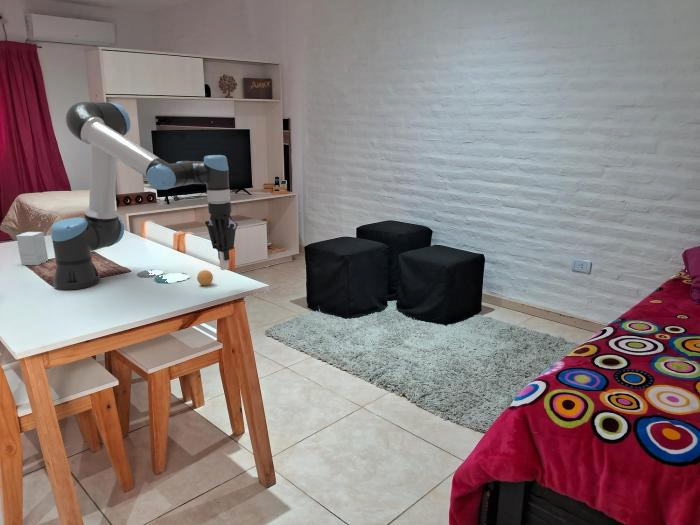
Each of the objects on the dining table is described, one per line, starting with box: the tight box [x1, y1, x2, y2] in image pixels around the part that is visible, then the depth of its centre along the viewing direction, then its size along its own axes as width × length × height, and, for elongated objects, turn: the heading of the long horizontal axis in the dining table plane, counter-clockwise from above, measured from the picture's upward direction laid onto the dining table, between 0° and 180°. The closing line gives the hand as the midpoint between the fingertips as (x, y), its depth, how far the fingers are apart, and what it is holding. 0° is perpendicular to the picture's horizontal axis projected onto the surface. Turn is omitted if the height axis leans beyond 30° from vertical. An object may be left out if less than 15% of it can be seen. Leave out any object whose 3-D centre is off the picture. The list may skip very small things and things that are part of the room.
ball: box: [196, 269, 214, 286], centre depth 193 cm, size 6×6×6 cm
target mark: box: [153, 276, 169, 284], centre depth 202 cm, size 13×13×1 cm
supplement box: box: [15, 231, 49, 266], centre depth 222 cm, size 7×7×13 cm
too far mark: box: [136, 269, 157, 278], centre depth 208 cm, size 10×10×1 cm
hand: (224, 268), depth 187 cm, fingers closed
